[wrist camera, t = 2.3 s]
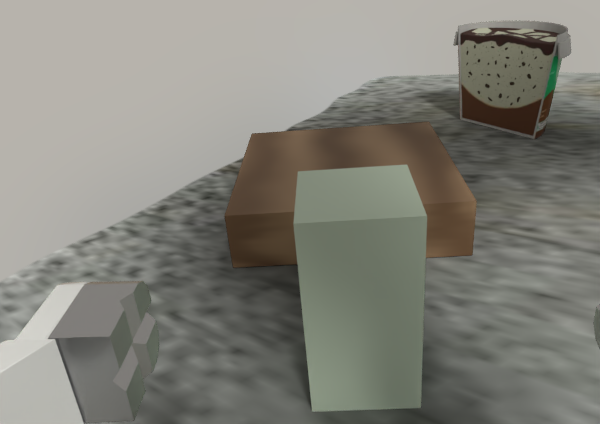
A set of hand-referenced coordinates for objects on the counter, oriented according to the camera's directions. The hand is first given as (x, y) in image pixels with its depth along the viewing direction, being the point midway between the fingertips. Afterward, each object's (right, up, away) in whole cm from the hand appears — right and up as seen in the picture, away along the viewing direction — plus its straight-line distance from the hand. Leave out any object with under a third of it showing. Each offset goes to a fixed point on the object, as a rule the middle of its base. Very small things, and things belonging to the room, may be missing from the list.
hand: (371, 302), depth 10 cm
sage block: (+2, -6, +17) cm, 18 cm away
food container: (+22, +11, +48) cm, 54 cm away
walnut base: (+2, +2, +33) cm, 33 cm away
